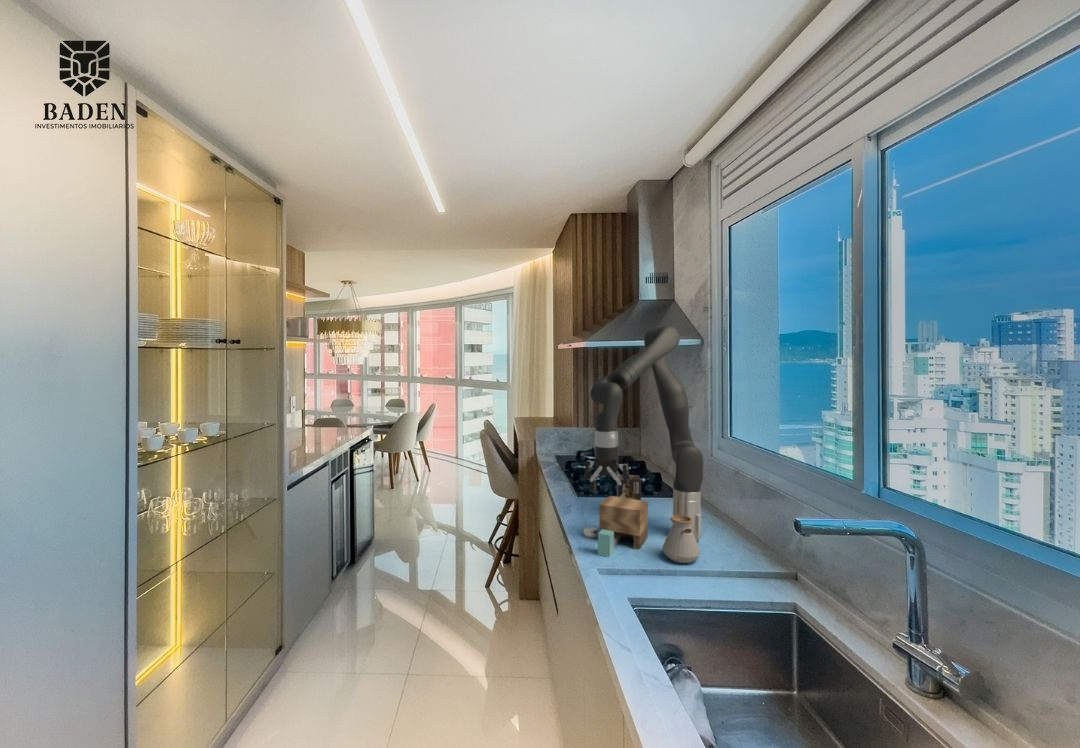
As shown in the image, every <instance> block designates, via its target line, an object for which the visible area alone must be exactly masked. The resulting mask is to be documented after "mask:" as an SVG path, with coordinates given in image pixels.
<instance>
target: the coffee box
mask: <svg viewBox="0 0 1080 748" xmlns="http://www.w3.org/2000/svg"><path fill="white" fill-rule="evenodd" d="M620 476H621V478H622V479H623V474H620ZM641 492H642V479H641V477H640V475H638V474H629V482H628V483H627V484H623V494H622V495H621V496H620V497H621V498H628V499H634V500H641V501H642V493H641ZM616 497H618V483H617V482H616Z"/></svg>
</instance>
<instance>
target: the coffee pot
mask: <svg viewBox="0 0 1080 748" xmlns="http://www.w3.org/2000/svg"><path fill="white" fill-rule="evenodd" d="M669 519H670V521H671V522H672V526H671V528H670V531H669V532H668V534H667V536H666V539H665V540H664V543H663V544H662V551H663V553H664V555H666V557H667V558H668V559H669V558H670V559H671V560H670V559H669V560H670V561H672V560H673V561H675V562H674V563H676V562H679V563H678V564H681V563H689V564H692V563H693V562H695V561H697V559H698V558H699V557H700V555H701V549H700V546H699V544H698V542H696V539H695V537H694V534H695V533H694V534H693V532H692V529H691V527H690V524H691V522H692V518H690V517H688V516H683V515H675V516H673V515H672V516H671V517H669ZM673 561H672V562H673ZM691 562H692V563H691Z"/></svg>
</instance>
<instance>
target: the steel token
mask: <svg viewBox="0 0 1080 748" xmlns="http://www.w3.org/2000/svg"><path fill="white" fill-rule="evenodd" d="M598 531H599V530H598V528H596V527H594V526H586V527H583V538H586V539H596V538H598V533H599V532H598Z"/></svg>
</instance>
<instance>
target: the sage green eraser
mask: <svg viewBox="0 0 1080 748" xmlns="http://www.w3.org/2000/svg"><path fill="white" fill-rule="evenodd" d="M621 539H622V537H621V533H619V532H617V533H616V534H615V535H614V531H609V530H604V529H600V531H599V532H598V536H597V556H601V557H606V556H607V558H611V556H612V555H613V554H614V553H615V552H614V548H615V546H616V545H617V544H618V543H619V541H621ZM613 552H614V553H613Z"/></svg>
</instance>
